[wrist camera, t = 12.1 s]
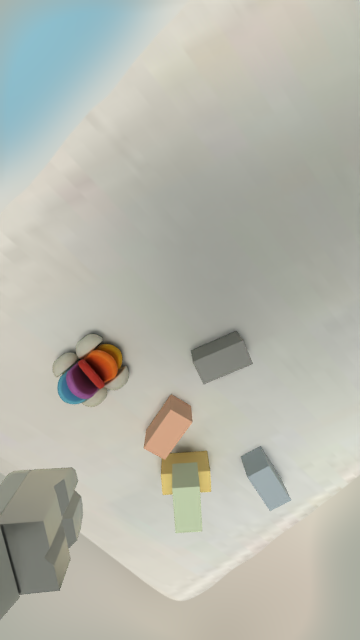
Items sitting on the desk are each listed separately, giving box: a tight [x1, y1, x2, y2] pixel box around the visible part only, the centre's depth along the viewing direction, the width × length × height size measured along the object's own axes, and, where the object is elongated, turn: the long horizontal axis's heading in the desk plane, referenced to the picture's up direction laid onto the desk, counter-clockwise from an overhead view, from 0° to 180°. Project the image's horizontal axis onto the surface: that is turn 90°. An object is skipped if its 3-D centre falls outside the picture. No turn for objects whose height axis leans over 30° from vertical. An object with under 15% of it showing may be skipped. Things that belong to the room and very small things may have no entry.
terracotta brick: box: [144, 395, 192, 460], centre depth 44 cm, size 7×4×4 cm, turn 147°
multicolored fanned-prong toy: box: [53, 334, 129, 407], centre depth 41 cm, size 8×10×7 cm
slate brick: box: [241, 446, 291, 511], centre depth 47 cm, size 7×4×4 cm, turn 32°
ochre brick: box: [161, 451, 211, 495], centre depth 46 cm, size 7×4×4 cm, turn 93°
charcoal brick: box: [191, 331, 253, 384], centre depth 42 cm, size 7×4×4 cm, turn 114°
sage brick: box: [172, 462, 202, 533], centre depth 42 cm, size 7×4×4 cm, turn 3°
